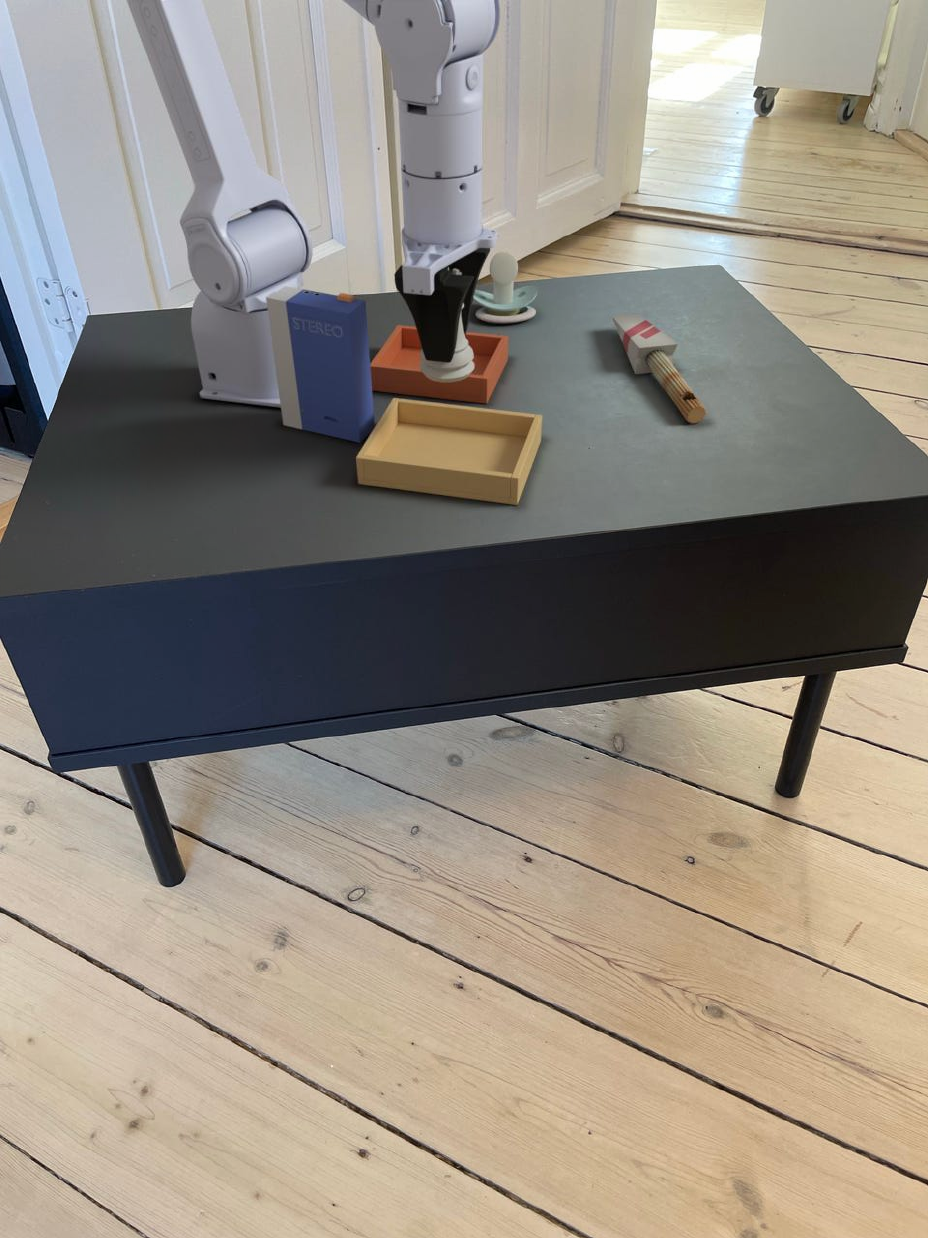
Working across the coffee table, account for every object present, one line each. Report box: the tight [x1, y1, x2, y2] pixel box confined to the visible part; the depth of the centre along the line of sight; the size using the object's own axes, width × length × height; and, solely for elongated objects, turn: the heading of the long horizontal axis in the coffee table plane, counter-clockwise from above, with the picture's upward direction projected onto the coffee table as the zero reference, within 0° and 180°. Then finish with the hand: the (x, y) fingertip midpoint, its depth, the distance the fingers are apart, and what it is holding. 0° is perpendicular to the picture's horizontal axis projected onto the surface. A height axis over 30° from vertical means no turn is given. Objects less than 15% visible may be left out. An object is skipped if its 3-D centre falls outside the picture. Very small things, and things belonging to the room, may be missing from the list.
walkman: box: [266, 286, 376, 444], centre depth 82 cm, size 8×3×12 cm, turn 65°
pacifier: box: [473, 250, 538, 324], centre depth 102 cm, size 7×6×6 cm
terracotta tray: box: [370, 324, 509, 405], centre depth 92 cm, size 11×9×2 cm
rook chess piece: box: [420, 267, 474, 382], centre depth 76 cm, size 4×4×8 cm
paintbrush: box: [611, 312, 707, 424], centre depth 92 cm, size 4×3×20 cm
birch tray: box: [355, 397, 543, 506], centre depth 80 cm, size 13×10×2 cm
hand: (445, 348), depth 77 cm, fingers closed on rook chess piece, 3 cm apart
